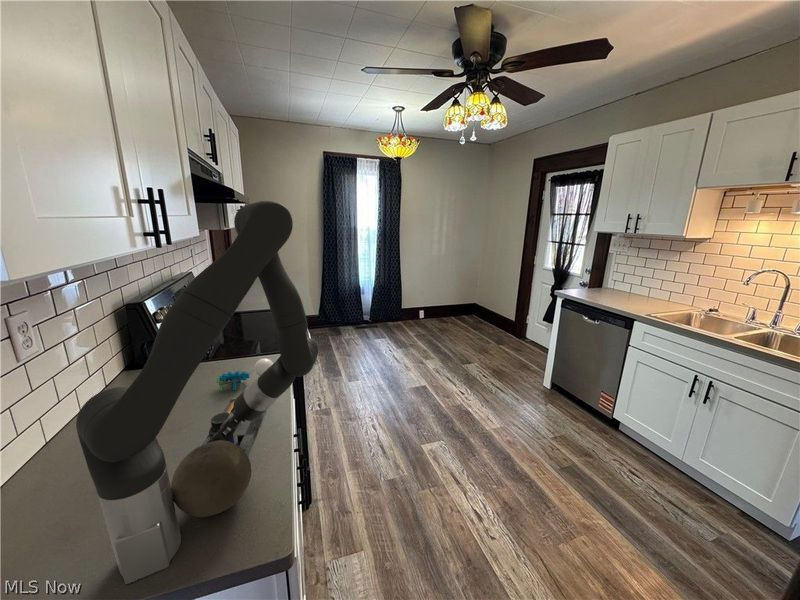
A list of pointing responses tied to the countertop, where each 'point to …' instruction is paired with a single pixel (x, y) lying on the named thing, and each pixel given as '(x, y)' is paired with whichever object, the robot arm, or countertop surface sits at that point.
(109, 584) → the countertop surface
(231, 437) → the pill bottle
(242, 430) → the grey rectangular tray
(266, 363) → the lightbulb
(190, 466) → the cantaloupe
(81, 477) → the countertop surface
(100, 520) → the countertop surface
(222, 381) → the blue branched piece
